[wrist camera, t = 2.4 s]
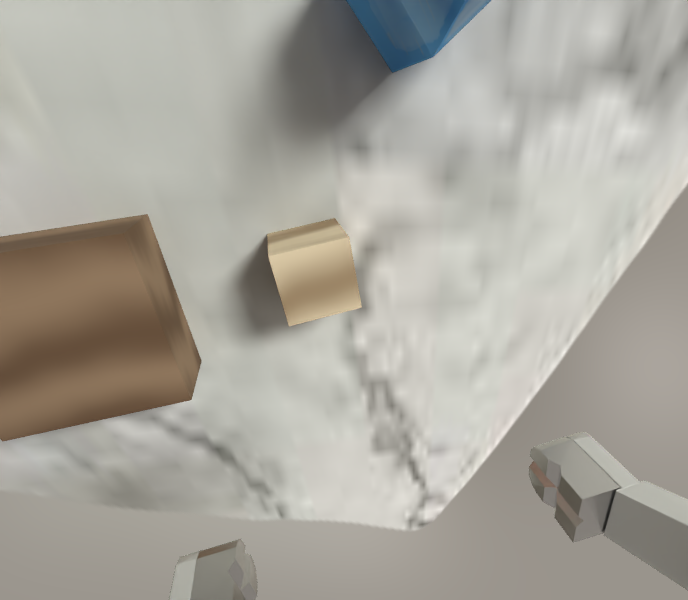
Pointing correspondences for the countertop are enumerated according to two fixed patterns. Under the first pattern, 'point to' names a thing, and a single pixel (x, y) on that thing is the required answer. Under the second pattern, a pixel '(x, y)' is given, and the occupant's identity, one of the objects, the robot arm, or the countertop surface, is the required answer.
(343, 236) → the maple cube
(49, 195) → the countertop surface
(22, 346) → the walnut block
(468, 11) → the perfume bottle
